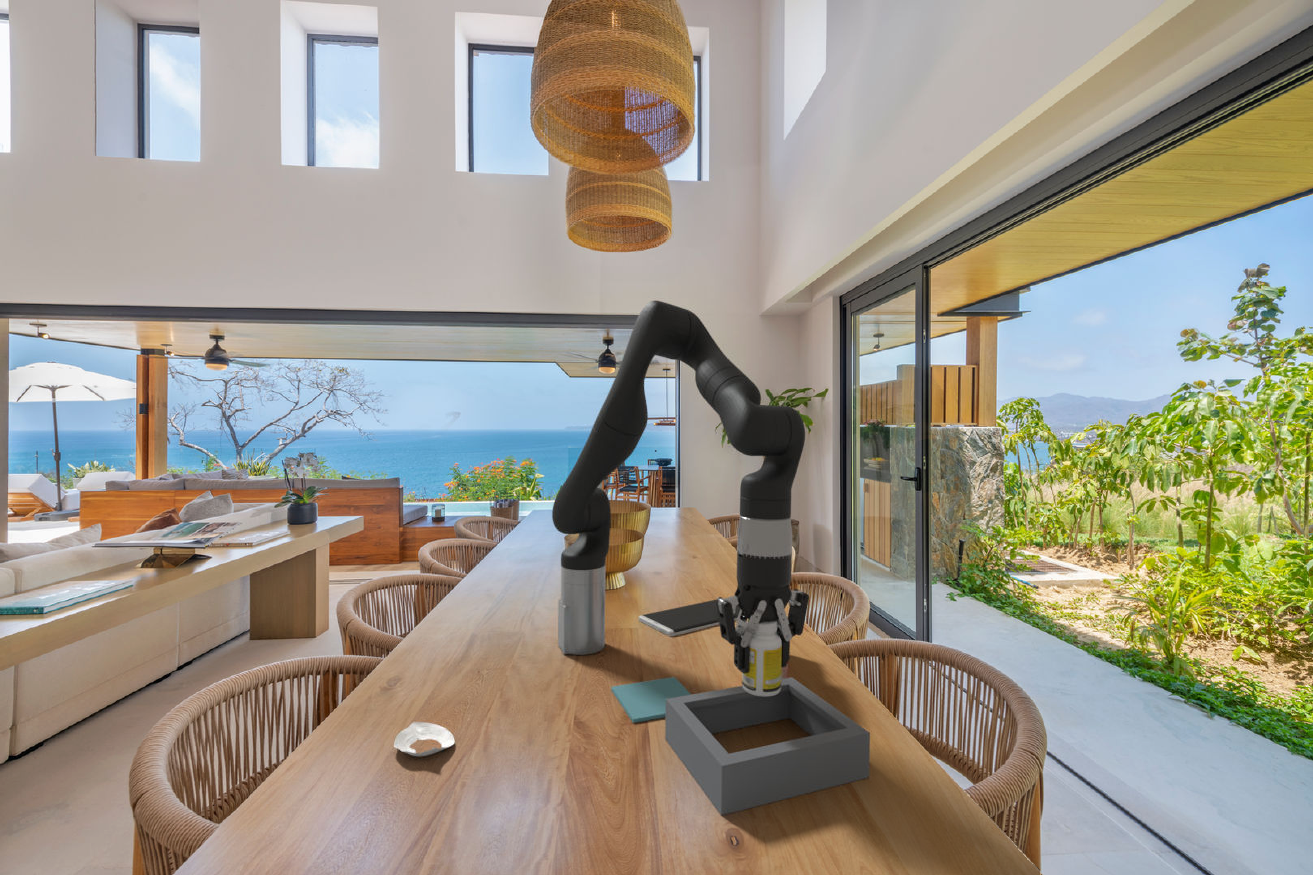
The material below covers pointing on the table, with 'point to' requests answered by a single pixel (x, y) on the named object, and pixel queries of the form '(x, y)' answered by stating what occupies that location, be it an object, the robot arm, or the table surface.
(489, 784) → the table surface
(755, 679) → the supplement bottle
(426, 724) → the white seashell fragment
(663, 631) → the smartphone
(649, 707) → the mat
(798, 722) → the box
